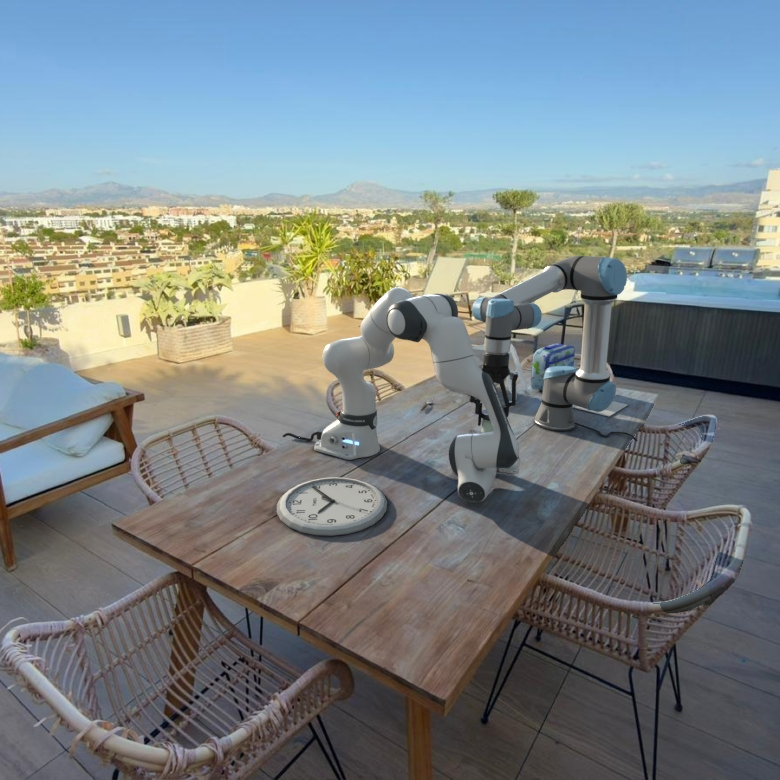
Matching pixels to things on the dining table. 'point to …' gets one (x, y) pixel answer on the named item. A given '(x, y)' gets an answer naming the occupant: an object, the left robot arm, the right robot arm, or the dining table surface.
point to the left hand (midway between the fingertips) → (489, 450)
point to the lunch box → (550, 361)
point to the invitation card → (607, 409)
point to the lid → (485, 415)
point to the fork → (427, 403)
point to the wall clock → (331, 506)
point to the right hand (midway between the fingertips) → (490, 425)
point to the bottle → (486, 426)
